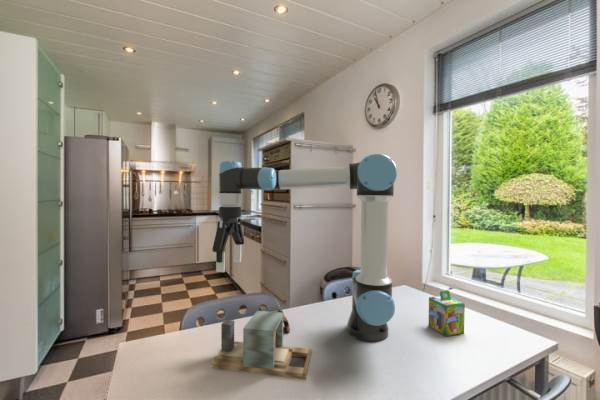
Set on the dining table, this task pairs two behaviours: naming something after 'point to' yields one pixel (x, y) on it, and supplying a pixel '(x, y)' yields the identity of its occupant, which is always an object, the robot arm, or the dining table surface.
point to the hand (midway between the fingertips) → (229, 266)
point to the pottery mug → (285, 321)
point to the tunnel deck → (266, 350)
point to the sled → (237, 349)
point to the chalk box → (446, 314)
